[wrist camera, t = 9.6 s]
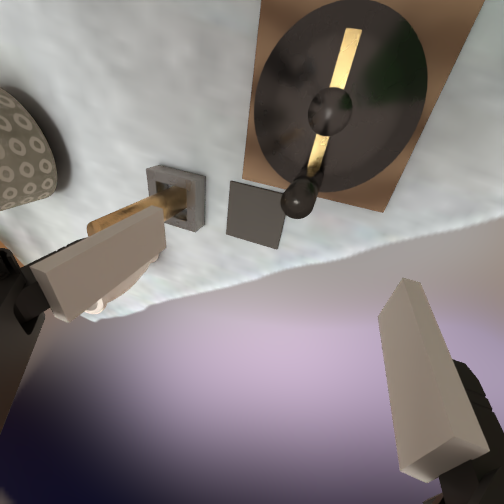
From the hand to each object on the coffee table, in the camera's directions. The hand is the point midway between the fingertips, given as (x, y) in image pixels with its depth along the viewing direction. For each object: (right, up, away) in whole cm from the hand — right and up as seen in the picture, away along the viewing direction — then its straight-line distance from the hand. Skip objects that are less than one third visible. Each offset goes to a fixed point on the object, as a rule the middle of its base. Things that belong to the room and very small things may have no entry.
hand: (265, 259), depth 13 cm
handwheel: (+8, +16, +13) cm, 22 cm away
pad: (0, +6, +24) cm, 24 cm away
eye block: (-12, +10, +26) cm, 31 cm away
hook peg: (-13, +9, +27) cm, 31 cm away
